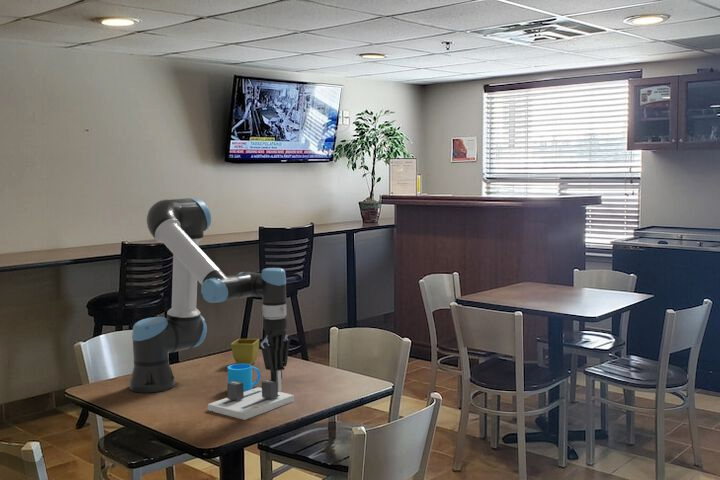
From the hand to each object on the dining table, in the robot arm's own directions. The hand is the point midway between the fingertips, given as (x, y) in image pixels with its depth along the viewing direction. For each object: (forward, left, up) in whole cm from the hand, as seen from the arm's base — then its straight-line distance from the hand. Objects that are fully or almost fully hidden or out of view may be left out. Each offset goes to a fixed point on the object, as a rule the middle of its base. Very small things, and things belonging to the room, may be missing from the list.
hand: (276, 390), depth 237 cm
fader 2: (0, -3, -2) cm, 4 cm away
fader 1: (-8, -10, -2) cm, 13 cm away
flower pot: (-43, +29, -4) cm, 52 cm away
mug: (-19, +5, -4) cm, 20 cm away
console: (-4, -7, -4) cm, 9 cm away
